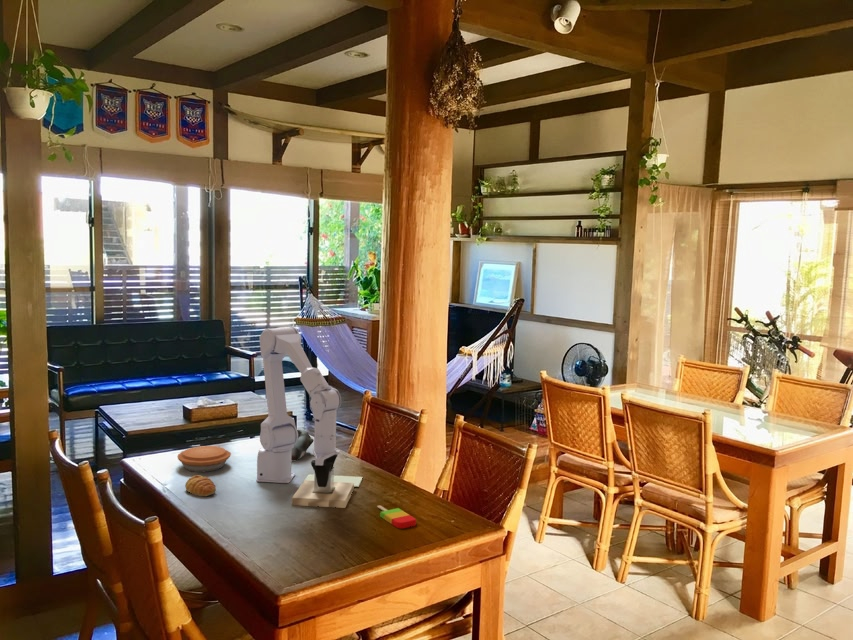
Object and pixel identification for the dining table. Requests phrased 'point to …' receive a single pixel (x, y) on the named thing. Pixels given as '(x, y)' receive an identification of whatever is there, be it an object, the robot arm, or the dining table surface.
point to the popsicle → (397, 517)
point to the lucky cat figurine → (301, 444)
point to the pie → (204, 458)
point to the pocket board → (323, 495)
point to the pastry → (200, 486)
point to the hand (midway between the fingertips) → (324, 483)
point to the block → (329, 486)
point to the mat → (341, 479)
